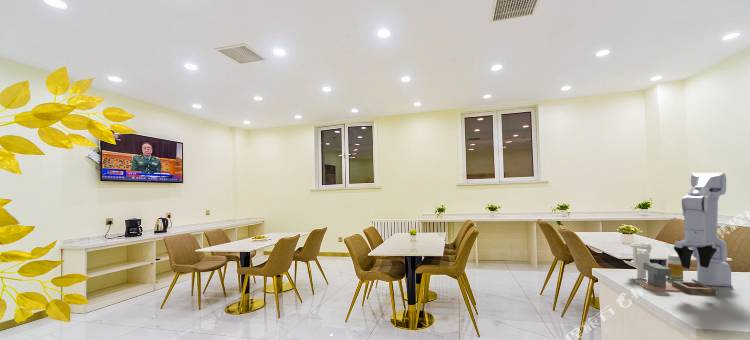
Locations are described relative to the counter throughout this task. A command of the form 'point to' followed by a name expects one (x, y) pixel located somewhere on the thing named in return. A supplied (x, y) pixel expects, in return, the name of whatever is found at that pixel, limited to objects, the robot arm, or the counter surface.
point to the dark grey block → (657, 274)
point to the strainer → (641, 258)
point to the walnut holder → (694, 288)
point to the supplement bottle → (675, 267)
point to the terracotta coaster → (650, 287)
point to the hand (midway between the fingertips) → (695, 267)
